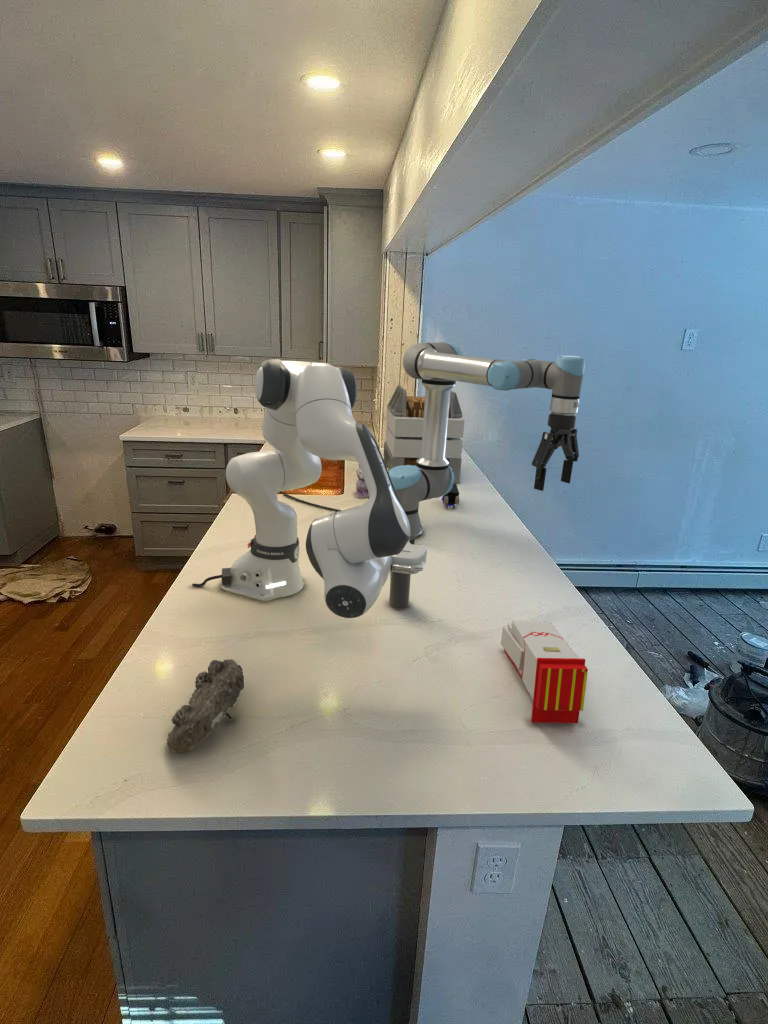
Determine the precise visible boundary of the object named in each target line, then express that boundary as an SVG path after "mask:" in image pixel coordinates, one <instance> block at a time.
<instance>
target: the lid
mask: <svg viewBox="0 0 768 1024" xmlns="http://www.w3.org/2000/svg"><path fill="white" fill-rule="evenodd" d="M414 538H415V537H414V536H413V535H412V534H411V536H410V539H409V542H410V543H411V544H414V545H415V542H416V538H415V539H414Z"/></svg>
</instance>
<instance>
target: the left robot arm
mask: <svg viewBox="0 0 768 1024" xmlns="http://www.w3.org/2000/svg"><path fill="white" fill-rule="evenodd" d="M357 382H358V380H357V378H356V376H355V374H354V373H353V371H352V370H350V369H348V368H345V367H342V366H339V365H337V366H334V365H332V364H330V363H327V362H316V361H302V360H281V359H280V358H272V359H265V360H264V361H263V362H262V363H261V364H260V365H259V367H258V369H257V372H256V374H255V377H254V392H255V396H256V399H257V401H258V403H259V404H260V405H261V406H262V407H264V408H265V413H264V417H263V422H262V427H261V431H262V437H263V438H264V440H265V442H266V443H267V444H268V445H269V446H271V447H272V448H273V449H269V450H261V451H252V452H246V453H243V454H239V455H237V456H233V457H232V458H230V460H229V462H228V463H227V465H226V468H225V480H226V483H227V486H228V487H229V489H230V490H231V491H232V492H233V493H235V494H236V495H238V496H239V497H241V498H242V499H243V500H245V502H247V504H248V505H249V507H250V508H251V510H252V514H253V518H254V519H253V520H254V526H255V534H254V536H253V537H252V539H250V541H249V542H248V543H247V549H249V548H250V549H249V550H248V551H246V552H245V553H243V554H242V555H241V556H239V557H237V559H236V560H235V561H233V563H232V565H231V567H222V568H221V574H219V575H213V576H209V577H207V578H205V579H204V580H203V582H201V583H191V586H192V587H195V588H200V587H204V586H205V585H206V584H207V582H209V581H212V580H216V579H221V590H223V591H225V592H230V593H234V594H236V595H240V596H244V597H248V598H252V599H255V600H259V601H262V602H269V601H272V600H275V599H279V598H285V597H289V596H293V595H295V594H297V593H299V592H300V591H301V590H302V589H303V588H304V586H305V585H304V581H303V577H302V574H301V568H300V562H299V561H300V560H299V559H300V539H299V537H298V515H297V512H296V510H295V509H294V507H292V506H291V505H290V504H287V503H286V502H283V501H280V500H278V499H279V498H278V493H279V492H280V491H281V492H285V491H292V490H299V489H303V488H305V487H309V486H311V485H313V484H316V483H317V482H318V481H319V479H320V477H321V475H322V472H323V471H322V469H323V466H322V461H321V459H324V460H329V461H349V462H350V461H351V462H355V463H358V467H359V466H360V469H361V472H362V474H363V477H364V480H365V483H366V486H367V489H368V492H369V495H370V496H369V497H368V499H367V500H366V501H365V502H364V503H362V504H359V505H356V506H353V507H350V508H347V509H342V511H339V512H337V511H334V512H332V513H329V514H327V515H323V516H320V517H317V518H315V519H313V521H312V522H311V524H310V525H309V527H308V531H307V534H306V539H305V550H306V555H307V558H308V560H309V562H310V564H311V566H312V568H313V569H314V571H315V572H316V573H317V574H318V575H319V577H320V578H321V579H322V580H323V582H324V583H323V584H324V591H323V592H324V593H323V594H324V595H323V597H324V602H325V605H326V607H327V608H328V610H329V611H330V612H331V613H333V614H334V615H336V616H338V617H340V618H344V619H355V618H359V617H361V616H364V614H366V613H367V612H368V611H369V610H370V609H371V608H373V606H374V605H375V603H376V601H377V600H378V598H379V596H380V594H381V591H382V589H383V587H384V586H385V584H386V583H387V580H388V578H389V576H391V572H397V573H405V574H411V575H416V574H418V573H419V572H422V571H423V570H424V568H425V565H426V563H427V556H428V549H427V547H426V546H424V545H422V544H415V543H414V544H411V543H410V542H409V539H410V536H411V530H410V524H409V520H408V518H407V515H406V513H405V511H404V510H403V508H402V505H401V503H400V501H399V499H398V497H397V494H396V492H395V489H394V486H393V484H392V481H391V478H390V476H389V473H388V472H389V470H388V468H387V466H386V465H385V462H384V456H383V455H382V452H381V449H380V447H379V445H378V443H377V440H376V438H375V437H374V434H373V433H372V432H371V431H370V429H369V428H368V427H367V426H366V424H364V423H362V422H357V421H356V420H355V418H354V414H353V410H352V409H353V408H354V406H355V404H356V401H357V397H358V383H357Z"/></svg>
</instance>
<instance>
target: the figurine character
mask: <svg viewBox="0 0 768 1024" xmlns="http://www.w3.org/2000/svg"><path fill="white" fill-rule="evenodd" d="M441 501H442V504H443V505H445V508H446V509H449V507H452V509H456V506H459V504H460V491H459V489H458V486H457V483H454V484H453V487H452V489H451V490H450V491H449V492H448V493H447V494H445V495H443V496H441Z"/></svg>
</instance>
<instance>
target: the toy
mask: <svg viewBox="0 0 768 1024" xmlns="http://www.w3.org/2000/svg"><path fill="white" fill-rule="evenodd" d="M500 645H501V646H502V648H503V652H504V654H505V655H506V657H507V658H508V660H509V661H510V663H511V664H512V666H513V668H514V669H515V671H516V672H517V674H518V676H519V677H520V679H521V680H522V683H523V685H524V686H525V688H526V690H527V692H528V694H529V696H530V697H531V699H532V708H531V719H530V722H531V723H532V724H579V719H580V712H583V711H584V706H585V697H586V689H587V680H588V671H589V669H588V667H587V666H586V659H585V658H580V657H579V656H578V655H577V654H576V652H575V651H574V650H573V648H572V647H571V646H570V645H569V644H568V642H567V641H566V640H565V638H564V637H563V636H562V634H561V633H560V632H559V631H558V630H557V628H556V627H555V626H554V624H553V623H552V622H551V621H549V620H548V621H545V620H540V621H539V620H511V622H508V623H507V626H502V632H501V638H500Z"/></svg>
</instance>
